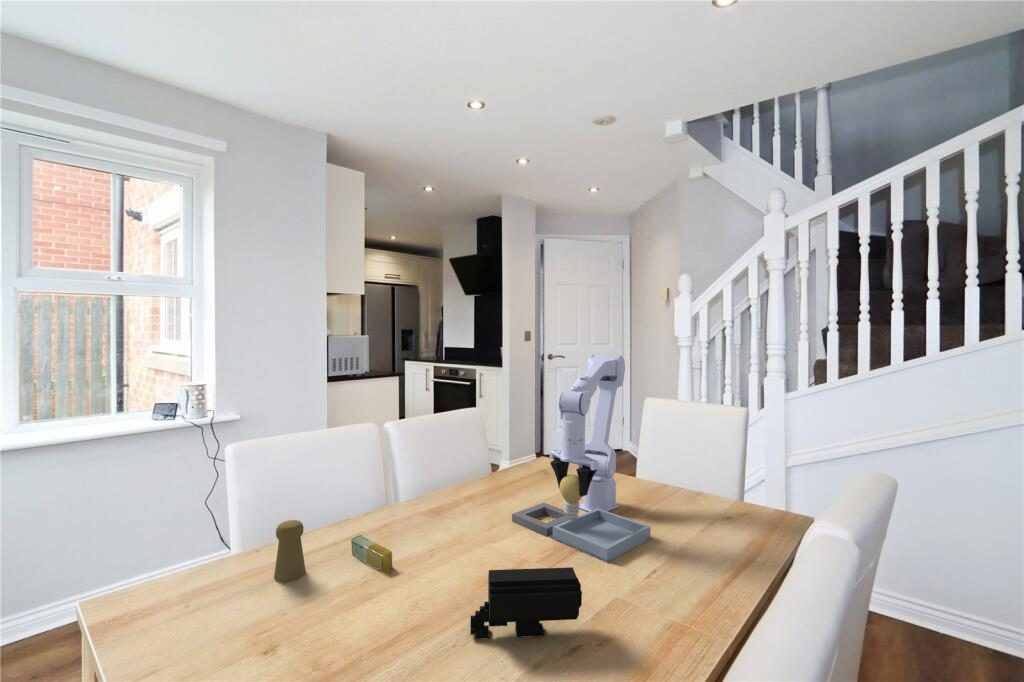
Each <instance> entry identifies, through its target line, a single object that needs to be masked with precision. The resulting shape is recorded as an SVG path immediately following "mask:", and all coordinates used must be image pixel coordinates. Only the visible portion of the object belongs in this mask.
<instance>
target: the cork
mask: <svg viewBox="0 0 1024 682" xmlns="http://www.w3.org/2000/svg"><path fill="white" fill-rule="evenodd" d="M303 533H304V525H303V522H302V521H300V520H297V519H289V520H285V521H283V522H280V523H279V524H278V525H277V527H276V530H275V536H276V538H277V540H278V543H277V552H276V553H277V554H276V561H275V568H274V575H273V579H275V580H276V581H275V580H274V581H275V582H277V581H279V582H278V583H290V582H291V581H292V582H294V580H295V581H297V579H298V580H300V579H302V578H303V577H304V576H305V575H306V574H307V572H306V570H307V569H306V565H305V563H306V562H305V557H304V551H303V544H302V535H303ZM305 573H306V574H305ZM303 575H304V576H303ZM302 576H303V577H302ZM301 577H302V578H301ZM299 578H300V579H299Z"/></svg>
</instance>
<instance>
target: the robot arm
mask: <svg viewBox="0 0 1024 682" xmlns="http://www.w3.org/2000/svg"><path fill="white" fill-rule="evenodd" d="M586 365H587V371H586V372H585V375H580V376H579V377H577V379H576V380H575V382H574V383H573V384H572V386H571V387H570V388H569V389H568V390H565V391H563V392H561V394H560V396H559V399H558V409H559V413H560V416H559V417H560V419H561V420H562V424H561V425H562V429H561V430H562V431H561V432H562V437H561V440H562V441H561V442H562V444H561V450H559V449H551V450H549V458H550V459H553V460H551V461H550V463H549V464H550V466H551V468H552V470H553V472H554V475H555V478H556V481H557V485H558V489H559V490H560V483H561V480H562V479H563V478H564V477H565V476H567V475H568V471H569V466H570V464H573V465H577V468H576V473H577V474H576V475H577V476H578V478H579V492H580V496H582V497H581V498H582V499H583V500H582V501H583V503H579V510H583V511H586V512H589V511H592V510H594V509H597V508H599V509H602V510H605V511H607V512H611V511H612V510H614V509H616V508H619V504H617V503H616V502H617V483H616V480H615V478H614V476H615V473H616V470H617V453H616V451H615V449H614V448H612V447H611V446H610V444H609V439H610V434H611V433H610V432H611V425H612V420H613V419H612V418H613V412H614V408H615V407H614V406H615V401H616V395H617V389H618V388H620V387H622V386H623V383H624V379H625V375H626V374H625V371H626V363H625V358H624V357H623V356H622V355H600V354H599V355H598V354H591V355H590V356H589V357H588V360H587V364H586ZM598 389H599V391H598V397H597V402H596V409H595V414H594V415H595V416H594V420H593V427H592V433H591V438H590V441H589V442H587V443H586V415H588V412H589V409H590V405H591V400H592V397H593V396H594V394H595V393H596V391H597V390H598Z"/></svg>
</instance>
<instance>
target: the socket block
mask: <svg viewBox="0 0 1024 682" xmlns="http://www.w3.org/2000/svg"><path fill="white" fill-rule="evenodd" d="M544 515H545V516H548V517H551V518H553V520H550V521H547V522H544V521H542V520H540V519H537V518H539V517H541V516H544ZM577 516H580V515H579V514H577V515H576V516H568V515H566V514H565V513H564V509H562V508H559V507H557V506H554V505H551V504H550V503H549V504H548V503H546V502H541V503H540V504H536V505H533V506H530V507H528V508H524V509H522V510H519V511H517V512H513V513H512V514H511V522H512V523H514V524H517V525H519V526H522V527H524V528H526V529H528V530H530V531H532V532H535V533H537V534H539V535H541V536H544V537H546V538H547V537H549V536H551V535H553V526H555V525H558V524H560V523H563V522H565V521H568V520H570V519H572V518H575V517H577Z"/></svg>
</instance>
